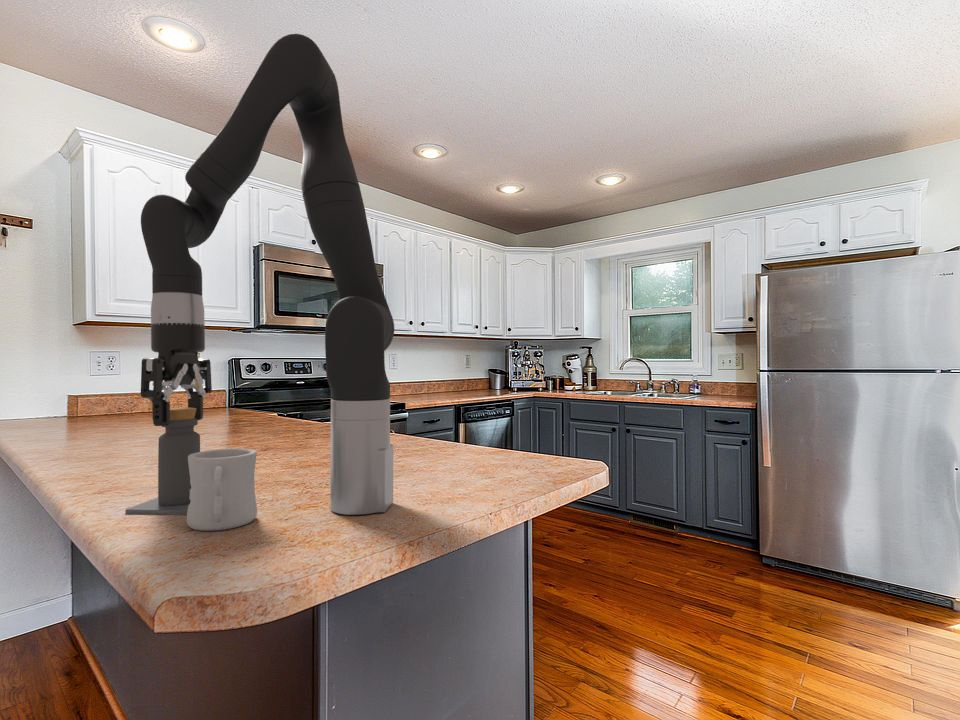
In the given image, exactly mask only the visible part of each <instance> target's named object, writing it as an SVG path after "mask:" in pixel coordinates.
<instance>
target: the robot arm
mask: <svg viewBox="0 0 960 720" xmlns="http://www.w3.org/2000/svg"><path fill="white" fill-rule="evenodd" d="M339 91H340V90H339V86H338V81H337V78H336V75H335V73H334V70H333V69H332V68H331V65H330V64H329V62H328V60H327V58H326V56H325V55H324V54H323V52H322V51H321V49H320V47H319V46H318V45H317V44H316V42H315V41H314V40H313V39H312V38H310V37H309V36H307V35H304V34H300V33H291V34H287V35H284V36H282V37H281V38H279V39H278V40H276V41H275V43H274V44H273V45H272V46H271V47H270V49H268V51H267V53H266V54H265V56H264V58H263V60H262V61H261V62H260V64H259V67H258V68H257V69H256V72H255V74H254V75H253V77H252V79H251V80H250V81H249V84H248V86H247V87H246V88H245V90H244V92H243V94H242V96H241V98H240V99H239V101H238V103H237V105H235V108H234V110H233V111H232V113H231V115H230V116H229V118H227V119H228V120H227V121H226V122H225V124H224V125H223V126H222V128H221V129H220V131H219V132H218V133H217V135H216V136H215V137H214V138H213V140H212V141H211V142H210V144H209V145H208V146H206V148H205V149H204V150H203V152H202V153H201V154H200V155H199V156H198V158H197V159H196V160H195V161H194V162H193V163H192V164H191V166H190V167H189V168H188V170H187V171H186V173H185V176H184V177H185V178H184V179H185V182H186V183H187V185H188V186H189V188H191V189H190V191H189V193H188V196H187V197H186V199H185V201H183V200H181V199H179V198H177V197H175V196H173V195H170V194H169V195H168V194H165V193H164V194H163V193H162V194H155V195H154V196H152V197H150V198H149V199H148V200H146V202H145V204H144V206H143V207H142V210H141V215H140V227H141V232H142V234H141V235H142V238H143V241H144V245H145V249H146V252H147V255H148V258H149V261H150V265H151V268H152V269H151V270H152V273H151V274H152V275H151V276H152V277H151V281H152V283H151V284H152V285H151V286H152V287H151V288H152V291H151V292H152V297H151V298H152V299H151V304H150V344H151V346H150V348H151V349H150V350H151V351H152V352H154V353H158V354H157V355H158V356H157V357H143V358H142V359H141V369H140V371H141V372H140V375H141V377H140V397H141V398H143V399H148V400H149V402H151V403H152V407H151V408H152V424H153V425H154V426H155V427H162V426H167V425H169V424H170V408H171V402H170V398H171V396H172V394H173V393H174V391H175V390H177V389H178V388H179V386H180V388H182V389H184V391H185V392H186V394H187V396H188V398H187V408H196V413H195V417H194V418H195V419H198V421H202V420H203V418H204V398H205V397H206V395H207V394H211V393H212V391H213V388H212V367H211V365H212V364H211V359H209V358H199V356H198V355H199V353H202V352H204V351H205V350H206V339H205V338H206V335H205V333H206V332H205V327H206V326H205V324H206V323H205V305H204V301H203V299H204V298H203V271H202V268H201V267H202V266H201V265H200V263H198V262H197V261H196V259H194V258H193V257H192V255H191V254H190V250H189V249H193V248H196V247H199V246H200V245H202V244H204V243H205V242H206V241H208V239H209V238H210V237H211V236H212V234H213V232H214V231H215V229H216V228H217V225H218V223H219V222H220V221H219V220H220V219H221V217H222V215H223V213H224V210H225V208H226V205H227V204H228V201H229V200H231V198H232V197H233V196H234V195H235V194H236V192H237V191H238V190H239V189H240V188H241V187H242V186H243V185H244V183H245V182H246V181H247V180H248V179H249V177H250V176H251V174H252V173H253V171H254V169H255V167H256V166H257V164H258V162H259V158H260V156H261V153H262V149H263V148H264V143H266V138H267V135H268V133H269V132H270V129H271V127H272V126H273V123H274V122H275V120H276V118H277V117H278V116H279V114H280V113H281V112H282V111H283V109H284V108H285V107H287V106H288V105H289V107H290V109H291V111H292V112H293V116H294V118H295V122H296V124H297V128H298V132H299V134H300V135H299V136H300V139H301V144H302V152H303V153H302V155H303V156H302V162H301V163H302V164H301V171H300V189H301V194H302V198H303V203H304V208H305V211H306V216H307V220H308V223H309V226H310V230H311V232H312V234H313V237H314V239H315V241H316V243H317V245H318V247H319V250H320V252H321V254H322V255H323V257H324V259H325V261H326V264H327V265H328V267H329V269H330V272H331V274H332V276H333V280H334V282H335V287H336V291H337V295H338V301H336V303H335V304H333V306H332V307H331V308H330V310H329V312H328V314H327V316H326V321H325V328H324V344H325V345H324V351H325V374H326V375H325V376H326V379H327V380H326V381H327V382H328V386H329V389H330V493H329V494H330V495H329V499H330V510H331V512H333V513H336V514H340V515H346V516H347V515H349V516H350V515H352V516H355V515H359V516H360V515H369V514H374V513H385V512H386V511H387V510H388V509H389V508H390V507H391V505H392V504H393V503H394V445H393V444H392V443H391V384H390V381H389V379H388V376H387V372H386V364H385V361H386V360H385V351H386V350H387V349H388V348H389V347H390V346H391V344H392V342H393V339H394V336H395V334H394V333H395V321H394V318H393V315H392V313H391V310H390V306H389V304H388V302H387V298H386V296H385V293H384V290H383V287H382V284H381V280H380V278H379V274H378V271H377V267H376V262H375V255H374V249H373V244H372V243H373V242H372V239H371V238H372V237H371V234H370V228H369V224H368V219H367V213H366V209H365V203H364V199H363V196H362V191H361V187H360V184H359V180H358V176H357V172H356V169H355V165H354V162H353V159H352V156H351V153H350V150H349V146H348V143H347V140H346V136H345V131H344V123H343V117H342V111H341V110H342V109H341V102H340V101H341V100H340V93H339ZM150 382H152V389H150ZM203 384H204V386H203Z"/></svg>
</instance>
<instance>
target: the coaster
mask: <svg viewBox="0 0 960 720" xmlns="http://www.w3.org/2000/svg"><path fill="white" fill-rule="evenodd" d="M188 504H189V503H188ZM188 504H182V505H172V506H166V505H160V504H159V503H158V496H157V497H156V498H153V499H149V500H147V501H145V502H142V503H139V504H136V505H133V506H132V507H129V508H126V509H125V514H126V515H127V514H128V515H129V514H138V515H139V514H141V515H145V514H146V515H187V511H188Z"/></svg>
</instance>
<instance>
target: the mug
mask: <svg viewBox="0 0 960 720" xmlns="http://www.w3.org/2000/svg"><path fill="white" fill-rule="evenodd" d="M257 452H258V451H256V450H255V449H249V448H221V449H220V448H219V449H210V450H209V449H208V450H203V451H200V452H197V453H193V454H190V455H189V456H188V465H189V473H190V497H189V504H188V511H187V514H186V525H187V526H188V527H189V528H190V529H191V530H195V531H201V532H202V531H204V532H206V531H207V532H209V531H210V532H213V531H223V530H228V529H234V528H238V527H242V526H246V525H247V524H249V523H251V522H252V521H254V520H255V519H256V517H257V515H258V508H257V498H256V491H255V490H256V488H255V487H256V486H255V483H256V482H255V472H256V461H257V455H258V453H257Z"/></svg>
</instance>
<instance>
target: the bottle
mask: <svg viewBox="0 0 960 720" xmlns="http://www.w3.org/2000/svg"><path fill="white" fill-rule="evenodd" d="M195 413H196V408H188V407H172V408H171V407H170V424H169V425H167V426H161V428H165V432H164V433H163V434H160V436H158V455H157V456H158V457H157V459H158V463H157V465H158V467H157V472H158V473H157V474H158V475H157V483H158V484H157V497H158V503H159V504H160V505H166V506H172V505H182V504H188V503H189V497H190V473H189V465H188V456H189V455H190V454H193V453H197V452H201V435H200V434H199V433H198V432H196V431H195V426H197V425H198V424H199V420H198V419H195V418H194V417H195Z"/></svg>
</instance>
